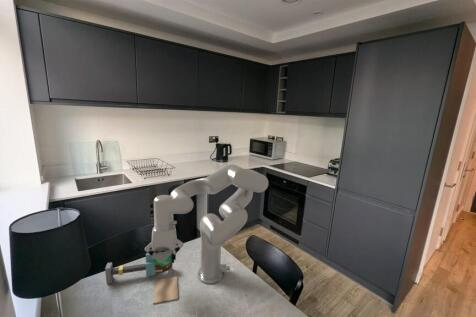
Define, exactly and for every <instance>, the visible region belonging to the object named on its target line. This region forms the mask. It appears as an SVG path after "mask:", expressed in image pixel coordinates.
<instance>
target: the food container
mask: <svg viewBox="0 0 476 317" xmlns="http://www.w3.org/2000/svg"><path fill="white" fill-rule="evenodd" d="M172 254H173V250H170V249H169V250H166V251H158V252H156V253H155V254H153V258H152V259H154V266H155V274H162V273H163V274H164V273H166V272H168V270H169V269H170V268H171V267H172V268H173V264H174V263H173V262H172Z"/></svg>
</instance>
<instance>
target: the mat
mask: <svg viewBox="0 0 476 317" xmlns="http://www.w3.org/2000/svg"><path fill="white" fill-rule="evenodd" d="M178 290H179V288H178V276H174V277H168V278H162V279H156V280H154V288H153V304H152V305H157V304H161V303H167V302H172V301H178V300H179V291H178Z"/></svg>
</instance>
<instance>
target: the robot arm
mask: <svg viewBox="0 0 476 317" xmlns="http://www.w3.org/2000/svg"><path fill="white" fill-rule="evenodd" d="M231 185H233V186H235V187H236V188H237V190H236V191H235V192H234V193H233V194H232V195H231V196H229V197H228V198H227V199H226V200H225V201H224V202H223V203H221V204H220V205H219V209H218V212H219V215H220V216H221V218H223V220H221V218H220V217H219V216H218V215H217V214H214V213H211V212H210V213H206V214H205V215H203V216H202V217H201V219H200V222H199V233H200V268H198V271H197V279H198V280H199V281H201V282H202V283H204V284H211V285H212V284H215V283H218V282H219V281H221V279H222V278H223V276H224V272H225V271H230V270H231V267H230V265H227V264H226V263H223V264H221V263H222V262H221V261H222V258H221V257H222V256H221V254H222V250H221V249H222V246H223V245H225V244H226V243H227V242H228V241H230V239H232V238H233V237H234V236H235V235H236V234H237V233H238V232H239V231H240V230H242V228H243V227H244V226H245V225H246V223H247V221H248V215H249V214H248V213H247V212H248V211H247V210H246V209H245V208H246V207H247V206H248V205H249V204H250V202H251V201H252V199H253V195H254V193H264V192H265V191H266V190H267V189H268V187H269V180H268V178H267V176H265V175H264V174H262V173H260V172H258V171H255V170H253V169H250V168H246V169H245V168H242V167H241V166H239V165H237V164H234V163H233V164H231V163H230V164H228V165H226V166H224V167H223V168H220V169H219V170H217V171H214V172H213V173H211V174H210V175H208V176H206V177H202V178H199V179H194V180H190V181H188V182H185V183H183V184H181V185H180V186H178V187H175V188H174V189H173V190H172V191H171V192H170V194H169V195H168V194H160V195H157V196H155V197H154V199H153V221H154V222H153V223H154V226H153V227H152V230H151V231H152V232H151V242H149V243H148V244H147V245H146V246H145V247H144V251H145V252H146V253H149V254H150V255H151V256H152V257H153V254H155V253H156V252H158V251H166V250H169V249H170V250H173V254H172V262H173V264H174V263H175V261H176V260H177V259H176V258H177V253H178V252H179V251H180V250H181V249H182V248H183V246H184V243H183V241H181V240H180V239H179V238H177V229H176V225H177V223H178V221H177V220H174V215H175V214H176V215H178V214H179V215H185V214H188V213H190V212H191V211H192V210H193V208H194V201H193V199H192V198H191V197H193V196H196V195H201V194H204V195H205V194H206V195H216V194H218V193H219V192H221V191H223V190H224V189H226V188H227V187H229V186H231ZM153 263H154V259H153Z"/></svg>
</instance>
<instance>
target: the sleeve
mask: <svg viewBox="0 0 476 317" xmlns="http://www.w3.org/2000/svg"><path fill="white" fill-rule="evenodd" d="M152 258H153V257H152V256H151V255H150V254H149V253H148V252H146V253H145V264H146V270H145V276H146V277H151V276H156V273H155V266H154V263H153V259H152Z"/></svg>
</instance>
